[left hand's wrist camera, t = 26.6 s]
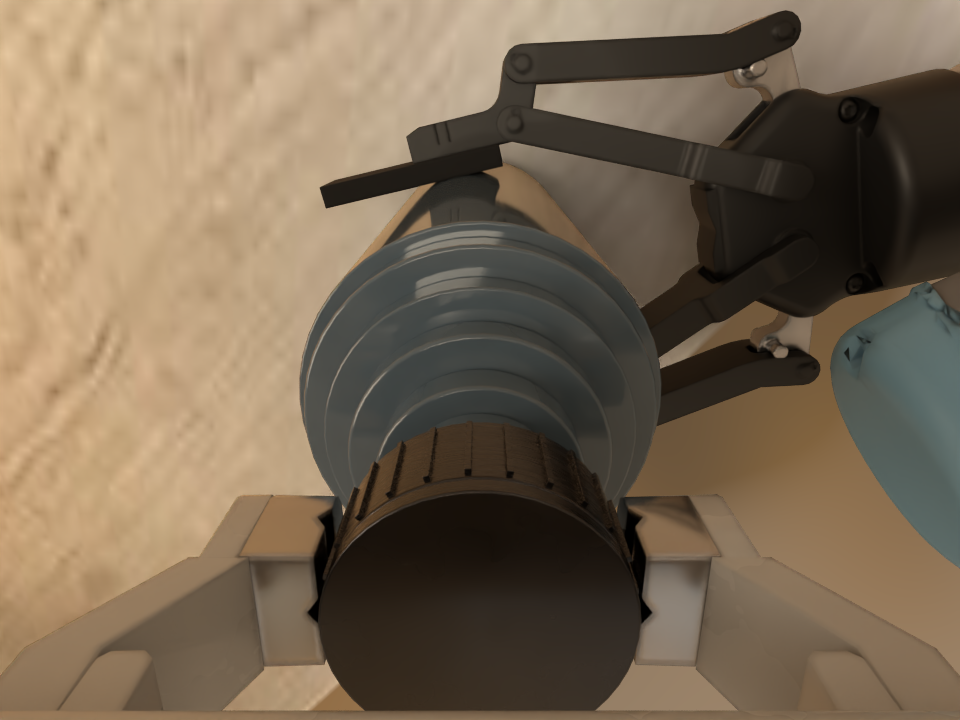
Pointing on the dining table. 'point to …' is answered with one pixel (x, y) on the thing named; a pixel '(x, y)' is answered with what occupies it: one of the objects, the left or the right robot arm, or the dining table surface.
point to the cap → (479, 579)
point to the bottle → (480, 336)
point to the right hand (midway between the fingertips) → (364, 304)
